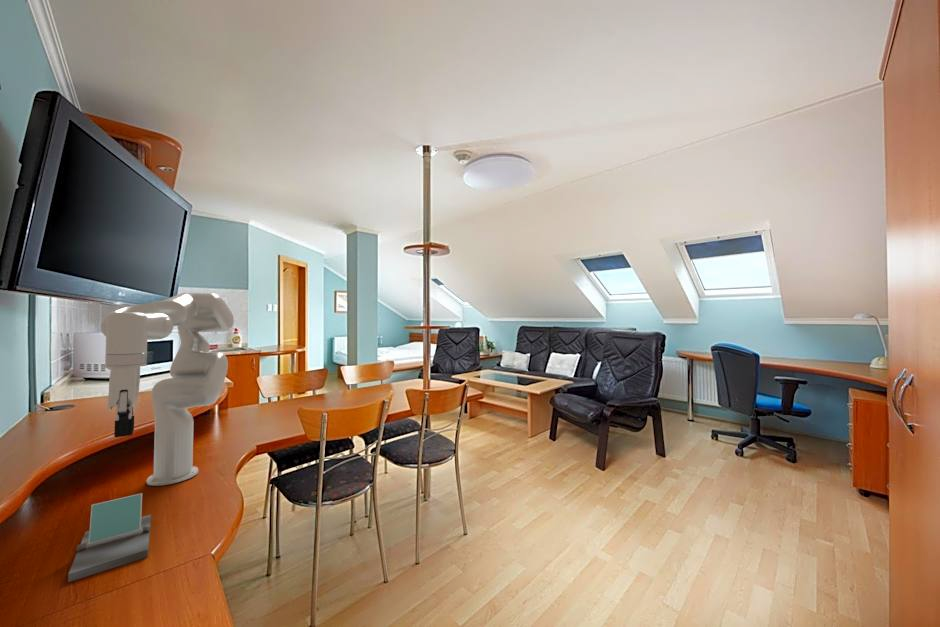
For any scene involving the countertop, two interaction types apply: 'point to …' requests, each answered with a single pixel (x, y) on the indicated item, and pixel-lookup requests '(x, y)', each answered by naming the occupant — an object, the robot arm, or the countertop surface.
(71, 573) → the board
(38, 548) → the countertop surface
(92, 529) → the tile
